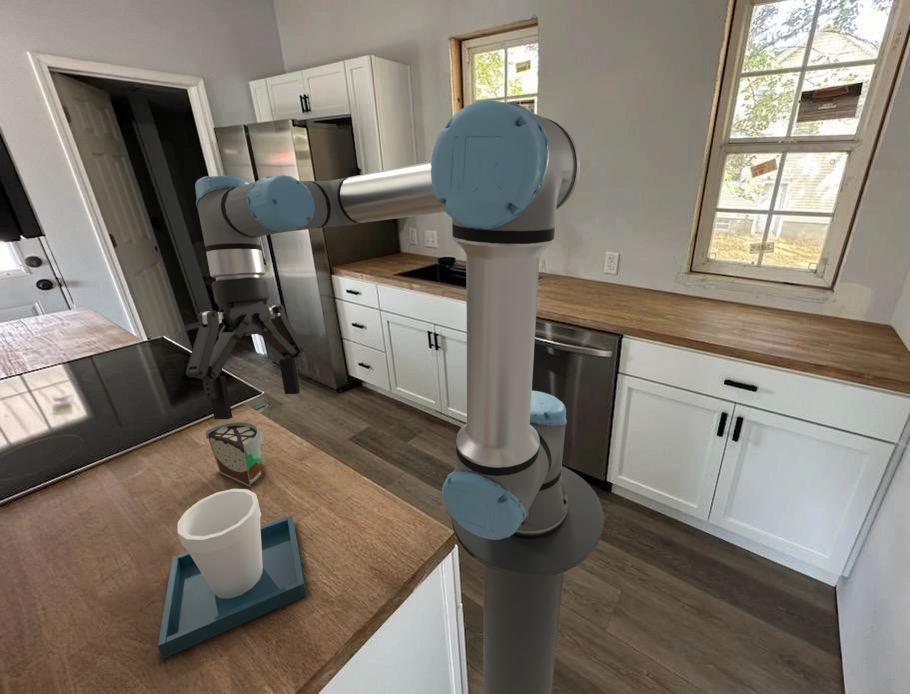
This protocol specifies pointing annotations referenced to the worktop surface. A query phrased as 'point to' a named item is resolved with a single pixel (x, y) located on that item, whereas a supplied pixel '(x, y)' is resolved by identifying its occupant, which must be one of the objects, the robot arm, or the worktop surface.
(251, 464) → the food container
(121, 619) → the worktop surface
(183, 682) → the worktop surface
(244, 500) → the foam cup
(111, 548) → the worktop surface
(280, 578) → the tray
